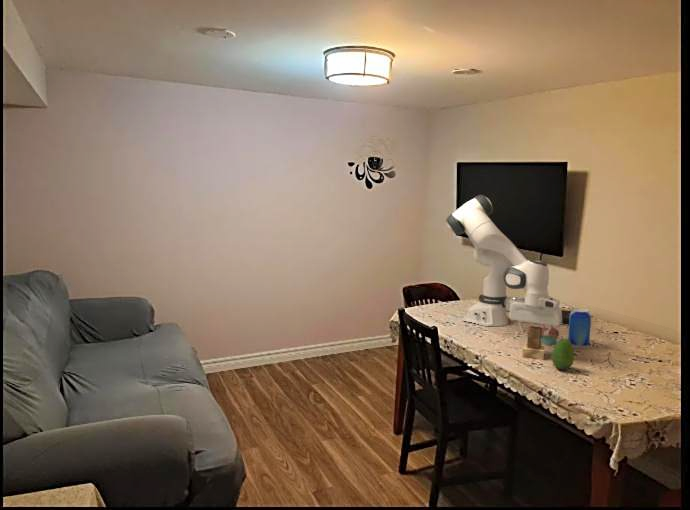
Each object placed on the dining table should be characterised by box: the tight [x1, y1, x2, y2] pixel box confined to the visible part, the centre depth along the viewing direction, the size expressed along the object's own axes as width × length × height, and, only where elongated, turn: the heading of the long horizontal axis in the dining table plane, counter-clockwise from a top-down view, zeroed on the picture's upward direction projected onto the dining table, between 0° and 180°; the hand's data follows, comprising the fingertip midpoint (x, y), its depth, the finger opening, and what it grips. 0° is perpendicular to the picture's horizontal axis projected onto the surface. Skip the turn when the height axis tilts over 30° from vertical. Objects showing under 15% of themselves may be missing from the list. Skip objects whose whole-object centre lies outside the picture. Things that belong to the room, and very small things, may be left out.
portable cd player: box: [561, 309, 572, 326], centre depth 268 cm, size 16×17×4 cm
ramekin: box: [506, 295, 525, 312], centre depth 289 cm, size 13×13×7 cm
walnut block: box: [526, 325, 543, 350], centre depth 214 cm, size 4×4×8 cm
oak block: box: [521, 342, 545, 361], centre depth 215 cm, size 8×8×4 cm
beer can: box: [567, 307, 592, 349], centre depth 226 cm, size 8×8×16 cm
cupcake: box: [541, 325, 560, 345], centre depth 232 cm, size 9×8×12 cm
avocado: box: [551, 338, 575, 371], centre depth 199 cm, size 8×8×12 cm
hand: (534, 333), depth 214 cm, fingers open, 8 cm apart
